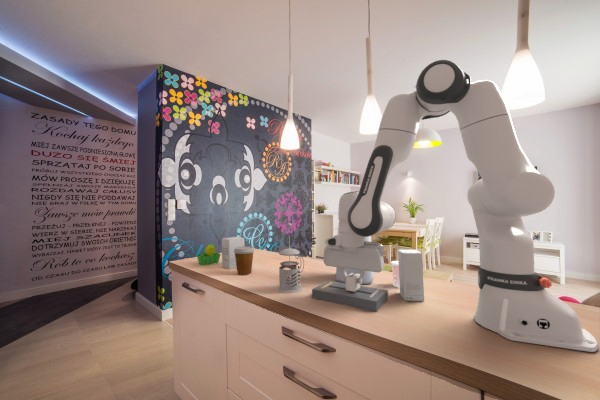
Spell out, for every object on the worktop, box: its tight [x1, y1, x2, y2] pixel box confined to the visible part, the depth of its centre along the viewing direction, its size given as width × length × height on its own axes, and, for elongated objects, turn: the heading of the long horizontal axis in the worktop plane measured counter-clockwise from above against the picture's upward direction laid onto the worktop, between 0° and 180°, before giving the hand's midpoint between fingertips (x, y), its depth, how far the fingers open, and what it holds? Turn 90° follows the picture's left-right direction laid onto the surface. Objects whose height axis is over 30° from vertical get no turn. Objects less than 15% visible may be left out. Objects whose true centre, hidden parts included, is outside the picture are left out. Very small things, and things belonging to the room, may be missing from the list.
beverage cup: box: [390, 248, 401, 289], centre depth 102 cm, size 6×6×14 cm
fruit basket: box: [196, 243, 222, 266], centre depth 146 cm, size 11×9×11 cm
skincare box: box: [397, 249, 425, 302], centre depth 89 cm, size 8×7×16 cm
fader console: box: [311, 280, 389, 313], centre depth 89 cm, size 22×12×3 cm, turn 57°
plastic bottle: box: [335, 221, 375, 285], centre depth 112 cm, size 15×15×28 cm
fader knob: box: [346, 273, 361, 292], centre depth 88 cm, size 3×5×5 cm, turn 147°
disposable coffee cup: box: [234, 245, 255, 276], centre depth 124 cm, size 10×10×12 cm
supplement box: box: [221, 236, 246, 270], centre depth 138 cm, size 9×9×15 cm
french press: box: [276, 222, 305, 294], centre depth 101 cm, size 10×12×25 cm
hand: (352, 282), depth 88 cm, fingers closed on fader knob, 3 cm apart
